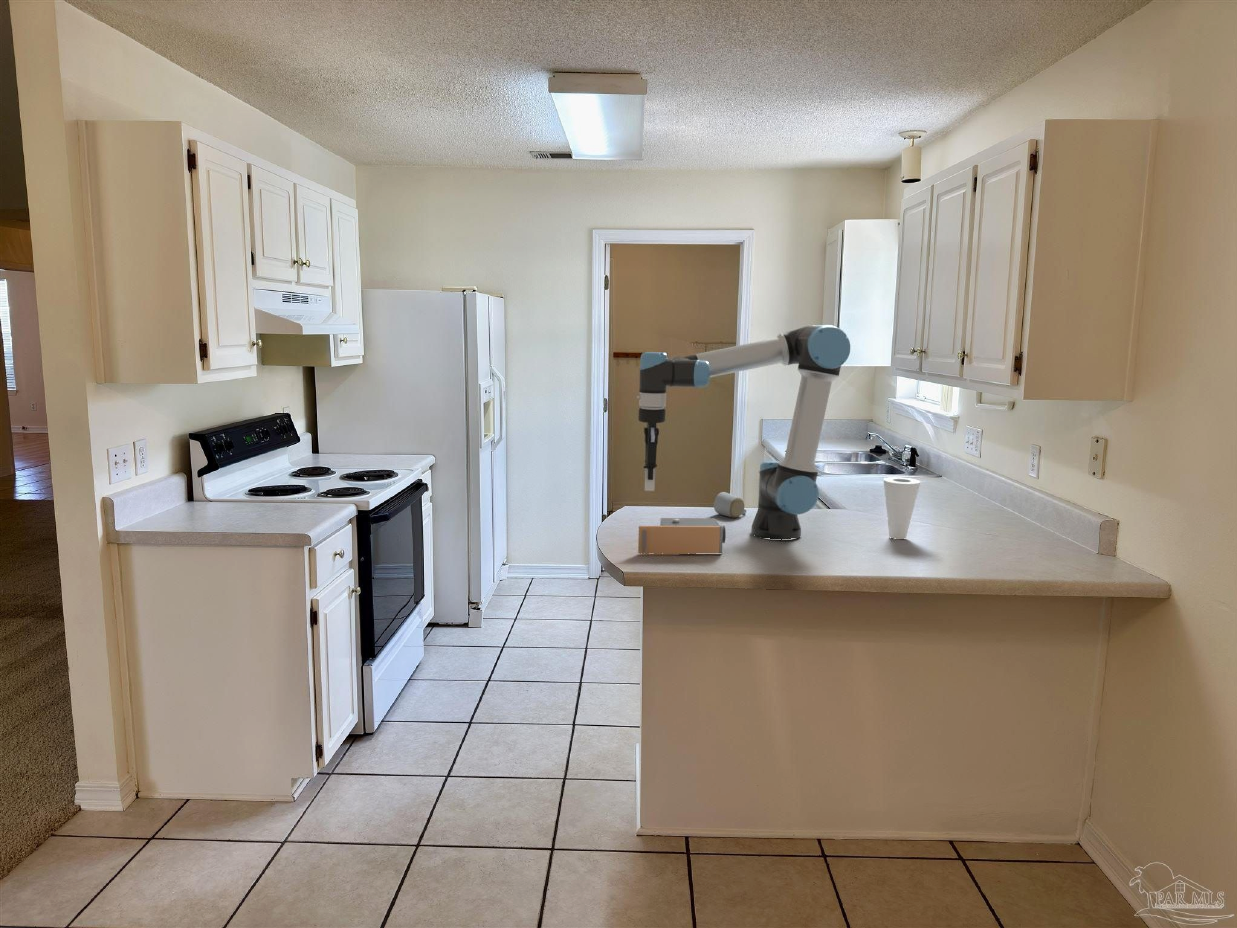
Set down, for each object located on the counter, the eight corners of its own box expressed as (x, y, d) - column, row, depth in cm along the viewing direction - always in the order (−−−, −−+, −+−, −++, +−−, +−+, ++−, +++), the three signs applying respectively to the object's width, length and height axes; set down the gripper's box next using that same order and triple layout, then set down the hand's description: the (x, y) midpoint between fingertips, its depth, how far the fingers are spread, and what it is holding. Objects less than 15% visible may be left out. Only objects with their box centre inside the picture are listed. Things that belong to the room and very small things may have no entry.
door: (721, 553, 235) (722, 526, 234) (722, 555, 233) (723, 527, 232) (638, 553, 235) (638, 525, 233) (638, 555, 232) (639, 527, 231)
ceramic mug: (730, 520, 276) (731, 497, 275) (712, 515, 282) (713, 492, 281) (752, 516, 283) (753, 493, 282) (734, 511, 289) (735, 489, 288)
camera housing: (720, 544, 246) (721, 515, 244) (726, 554, 236) (727, 524, 234) (659, 544, 245) (660, 515, 243) (662, 554, 235) (663, 523, 234)
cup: (901, 532, 263) (905, 476, 260) (923, 541, 253) (928, 483, 250) (872, 534, 260) (876, 477, 257) (893, 543, 250) (897, 484, 247)
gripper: (637, 405, 240) (635, 485, 244) (640, 410, 227) (637, 494, 231) (663, 405, 240) (660, 485, 244) (667, 410, 227) (664, 495, 231)
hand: (649, 490), depth 237 cm, fingers closed
